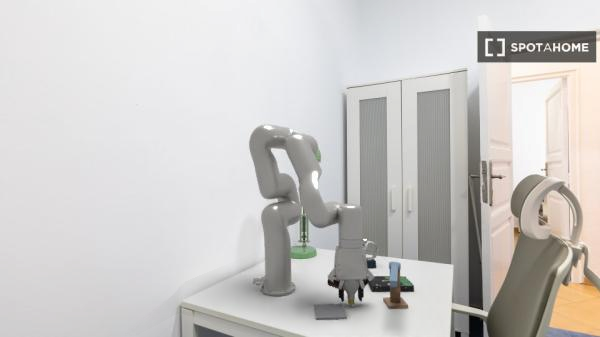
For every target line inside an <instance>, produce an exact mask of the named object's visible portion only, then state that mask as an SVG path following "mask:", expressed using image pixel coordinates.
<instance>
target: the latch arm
mask: <svg viewBox="0 0 600 337" xmlns="http://www.w3.org/2000/svg"><path fill="white" fill-rule="evenodd" d="M401 266H402V265H401V262H398V261H389V262H388V269H389V270H390V269H391V272H390V271H389V276H390V280H389V281H390V286H391V287H397V282H398V270H400V271H401Z"/></svg>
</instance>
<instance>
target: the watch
mask: <svg viewBox="0 0 600 337" xmlns="http://www.w3.org/2000/svg"><path fill="white" fill-rule="evenodd" d="M369 244H373V245H375V249H374V252H373V254H372V256H371V257H366V260H367V268H368V269H369V270H370V269H377V260H375V259H376V258H377V256H378V253H379V247H378V245H377V244H376V243H375V242H373V241H371V240H367V243H365V244H363V246H364V248H365V252H366V251H367V249H368V248H369V247H368V246H369Z"/></svg>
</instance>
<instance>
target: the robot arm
mask: <svg viewBox="0 0 600 337" xmlns="http://www.w3.org/2000/svg"><path fill="white" fill-rule="evenodd" d="M248 141H249V142H248V147H249V148H248V149H249V153H250V156H251V159H252V162H253V167H254V171H255V177H256V181H257V184H258V189H259V190H258V191H259V194H260V195H261V197H262V198H264V199H265V200H276V199H277V201H276V202H271V203H269V204H267V205H266V206H265V207H264V208H263V210H262V211H261V215H260V216H261V217H260V218H261V225H262V230H263V242H264V243H263V244H264V276H261V277H260V278H259V277H254V278H252V284H254V285H255V286H260V290H261V292H262V293H263V294H264V295H267V296H273V297H275V296H276V297H278V296H279V297H280V296H286V295H287V296H288V295H290V294H292V293H294V292H295V291H296V290H297V289H296V284H295V283H294V282H293V281H292V248H291V247H292V246H291V244H292V242H291V236H290V232H289V230H288V227H290V226H292V225H294V224H297V223H298V222H300V219H301V218H302V209H303V211H304V214H305V216H306V218H307V219H308V221H309V222H310V224H311V225H312V226H314V227H315V228H317V229H324V228H328V227H330V226H332V225H338V227H337V228H338V230H337V232H338V245H337V246H336V247H335V251H334V260H333V262H334V265H333V269H332V270H331V271H330V273H328V274H327V280H328V279H329V280H330V281H332V282H333V283H334V284H335V285H336V286H337V287H338V289H337V290H338V291H337V292H338V299H340V301H341V303H343V302H345V291H344V289H343V283H344V280H350V279H356V280H359V282H360V285H359V288H358V290H357V299H358V300H359V301H360V302H363V298H364V297H365V291H364V289H365V288H366V286H367V285H369V284H368V283H369V281H371V280H372V279H373V278H374V276H375V275H374V273H373V272H371V270H370V269H368V268H367V260H366V258H367V253H366V251H365V248H364V246H363V244H365V243H367V241H368V240H367V238H363V208H362V206H361V205H360V204H358V203H340V202H336V201H327V202H324V201H323V199H322V196H321V193H320V191H319V181H320V177H321V176H322V173H323V170H322V168H321V166H320V163H319V161H318V159H317V158H316V155H317V153H318V152H319V151H318V150H319V144H318V141H317V140H316V139H315V138H314V137H313V136H311V135H309V134H306V133H304V132H300V131H298V130H294V129H291V128H289V127H285V126H279V125H275V124H261V125H259V126H256V128H254V129H253V130H252V133H251V134H250V137H249V140H248ZM272 149H278V150H285V153H286V155H287V156H288V160H289V161H290V163H291V165H292V167H293V170H294V172H295V175H296V176H297V179H298V182H299V183H298V184H299V185H298V188H297V185H296V182H295V179H293V177H292V176H291V175H290V174H287V173H284V172H282V173H281V172H280V170H279V167H278V161H277V159H276V157H275V155H274V153H273V152H272ZM334 275H336V278H337V279H338V280H337V279H335V278H334ZM367 275H368V276H367ZM363 279H364V280H363Z"/></svg>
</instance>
